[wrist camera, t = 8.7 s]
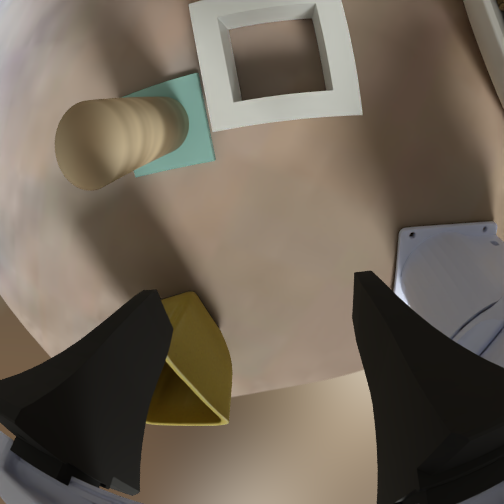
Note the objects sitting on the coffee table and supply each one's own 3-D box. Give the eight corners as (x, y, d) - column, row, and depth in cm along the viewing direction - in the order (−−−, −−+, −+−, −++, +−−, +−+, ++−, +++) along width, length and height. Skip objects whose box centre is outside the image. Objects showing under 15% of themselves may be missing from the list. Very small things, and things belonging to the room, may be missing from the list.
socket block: (329, -1, 12) (336, -18, 9) (351, 113, 15) (362, 115, 13) (203, 17, 13) (188, 4, 11) (224, 127, 17) (212, 132, 14)
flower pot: (124, 290, 25) (75, 359, 17) (200, 263, 22) (157, 348, 14) (174, 354, 28) (145, 424, 21) (248, 340, 26) (231, 425, 18)
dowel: (184, 90, 16) (114, 87, 9) (193, 148, 18) (132, 182, 11) (130, 105, 16) (48, 117, 9) (141, 159, 18) (66, 197, 11)
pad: (198, 73, 15) (196, 72, 15) (215, 159, 18) (214, 160, 18) (120, 98, 17) (117, 99, 16) (138, 175, 19) (135, 177, 19)
